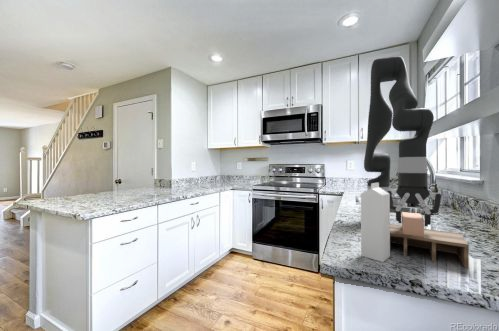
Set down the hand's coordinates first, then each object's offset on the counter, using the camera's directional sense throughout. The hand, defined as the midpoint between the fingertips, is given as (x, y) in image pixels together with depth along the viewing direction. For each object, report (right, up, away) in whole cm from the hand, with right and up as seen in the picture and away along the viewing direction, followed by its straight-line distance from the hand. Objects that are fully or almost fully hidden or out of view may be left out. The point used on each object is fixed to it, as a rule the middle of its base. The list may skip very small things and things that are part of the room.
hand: (412, 224), depth 69 cm
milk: (-14, -9, -4) cm, 17 cm away
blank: (0, -2, 0) cm, 2 cm away
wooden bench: (+1, -9, -1) cm, 9 cm away
